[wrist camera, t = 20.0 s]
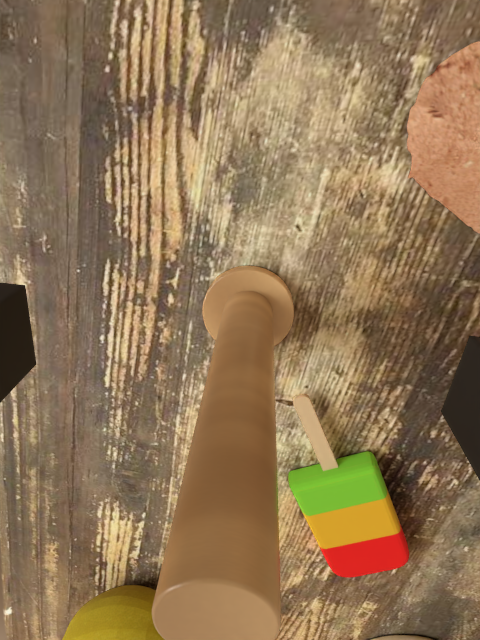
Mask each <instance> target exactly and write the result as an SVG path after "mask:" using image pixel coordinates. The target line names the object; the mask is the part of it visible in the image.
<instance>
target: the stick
mask: <svg viewBox="0 0 480 640" xmlns="http://www.w3.org/2000/svg"><path fill="white" fill-rule="evenodd" d="M202 313H203V320H204V323H205V326H206V328H207V330H208V332H209V333H210V335H211V336H212V337H213V338H214V339H215V340H216V342H215V347H214V351H213V355H212V359H211V363H210V367H209V372H208V376H207V380H206V384H205V388H204V393H203V397H202V401H201V405H200V409H199V413H198V418H197V422H196V426H195V430H194V434H193V439H192V443H191V447H190V451H189V455H188V459H187V464H186V468H185V472H184V476H183V480H182V485H181V489H180V493H179V497H178V501H177V505H176V510H175V514H174V518H173V522H172V526H171V530H170V535H169V539H168V543H167V547H166V551H165V556H164V560H163V564H162V568H161V572H160V576H159V581H158V585H157V589H156V593H155V597H154V602H153V606H152V619H153V623H154V626H155V628H156V630H157V631H158V633H159V634H160V635H161V636H162V638H164V639H165V640H275V639H276V638H277V636H278V633H279V631H280V627H281V596H280V559H279V522H278V486H277V449H276V412H275V376H274V346H276V345H277V344H279V343H280V342H281V341H282V340H283V339H284V338H285V337H286V335H287V334H288V332H289V330H290V328H291V326H292V323H293V318H294V306H293V300H292V296H291V293H290V291H289V289H288V287H287V286H286V284H285V283H284V282H283V280H282V279H280V278H279V277H278V276H277V275H276V274H274V273H273V272H271V271H269V270H267V269H264V268H261V267H257V266H239V267H235V268H232V269H229V270H227V271H225V272H224V273H222V274H221V275H219V276H218V277H217V278H216V279H215V280H214V281H213V282H212V284H211V285H210V287H209V288H208V290H207V293H206V296H205V298H204V302H203V309H202Z"/></svg>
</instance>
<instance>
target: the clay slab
mask: <svg viewBox="0 0 480 640" xmlns="http://www.w3.org/2000/svg"><path fill="white" fill-rule="evenodd" d="M407 131H408V134H409V137H408V139H407V148H408V151H409V152H410V153H411V154H412V164H411V170H410V173H409V176H408V178H413V177H414V179H415V180H416V182H417V183H418V184H419V185H420V186H422V187H423V188H424V189H425V190H426V192H427V193H428V195H429V196H430V197H432V198H434V199H436V200H438V201H440V202H441V203H442V204H443V205H444V206H445V207H446V208H447V209H449V210H450V211H452V212H453V213H454V214H455V215H456V216H457V217H458V218H459V219H461V220H462V221H463V222H464V223H465V224H466V225H467V226H470V227H473V231H476V232H478V233H480V41H479V42H475V43H472V44H470V45H468V46H467V47H465V48H463V49H462V50H460V51H458V52H457V53H455V54H453V55H452V56H450V57H449V58H447V59H446V60H445V61H443V62H442V63H441V64H439V65H438V66H437V68H436V70H435V72H434V73H433V74H431V75H430V76H428V77H427V78H426V79H425V81H424V82H423V84H422V86H421V88H420V90H419V93H418V96H417V99H416V103H415V105H413V106H412V107H411V108H410V113H409V119H408V124H407Z"/></svg>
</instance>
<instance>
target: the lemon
mask: <svg viewBox="0 0 480 640" xmlns="http://www.w3.org/2000/svg"><path fill="white" fill-rule="evenodd" d="M155 593H156V590H154V589H151V588H149V587H145V586H140V585H125V586H119V587H116V588H112V589H110V590H107V591H105V592H103V593H101V594H99V595H98V596H96V597H94V598H93V599H91V600H90V601H88V602H87V603H86V604H85V605H84V606H82V607H81V608H80V609H79V611H78V612H77V613H76V614H75V616H74V617H73V619H72V620H71V622H70V624H69V626H68V628H67V630H66V633H65V635H64V637H63V639H62V640H165V639H164V638H162V636H161V635H160V634H159V633H158V631H157V630H156V628H155V626H154V623H153V619H152V606H153V602H154V597H155Z"/></svg>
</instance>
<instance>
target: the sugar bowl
mask: <svg viewBox="0 0 480 640" xmlns="http://www.w3.org/2000/svg"><path fill="white" fill-rule="evenodd" d="M371 640H433V639H430V638H426V637H421V636H413V635H391V636H382V637H378V638H374V639H371Z"/></svg>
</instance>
